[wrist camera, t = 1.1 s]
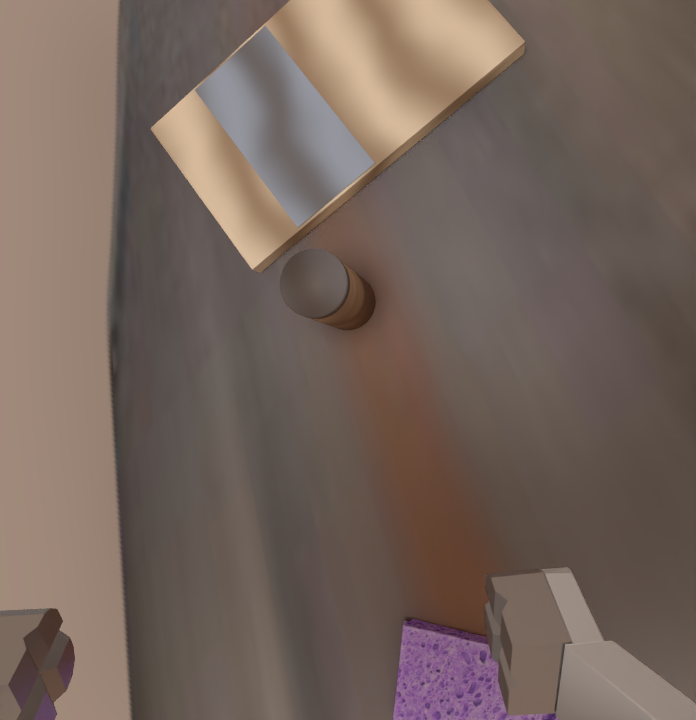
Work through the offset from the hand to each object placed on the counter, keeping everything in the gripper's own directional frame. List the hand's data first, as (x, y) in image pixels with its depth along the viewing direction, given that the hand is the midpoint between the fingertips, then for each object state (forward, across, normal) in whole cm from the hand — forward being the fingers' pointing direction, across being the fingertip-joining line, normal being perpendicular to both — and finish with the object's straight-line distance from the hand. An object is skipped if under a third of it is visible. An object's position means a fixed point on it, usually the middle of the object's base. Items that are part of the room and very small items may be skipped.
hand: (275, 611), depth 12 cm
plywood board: (+41, -2, -6) cm, 41 cm away
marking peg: (+33, -2, +7) cm, 34 cm away
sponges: (+18, -9, +30) cm, 36 cm away
